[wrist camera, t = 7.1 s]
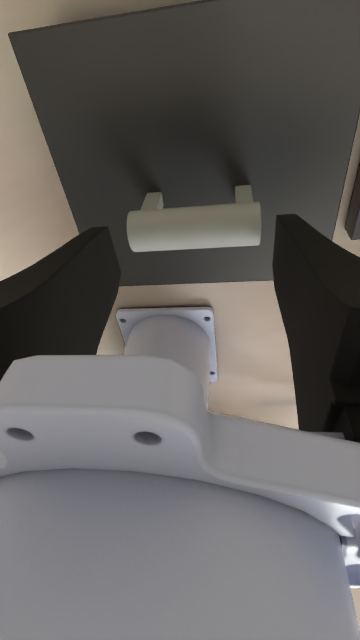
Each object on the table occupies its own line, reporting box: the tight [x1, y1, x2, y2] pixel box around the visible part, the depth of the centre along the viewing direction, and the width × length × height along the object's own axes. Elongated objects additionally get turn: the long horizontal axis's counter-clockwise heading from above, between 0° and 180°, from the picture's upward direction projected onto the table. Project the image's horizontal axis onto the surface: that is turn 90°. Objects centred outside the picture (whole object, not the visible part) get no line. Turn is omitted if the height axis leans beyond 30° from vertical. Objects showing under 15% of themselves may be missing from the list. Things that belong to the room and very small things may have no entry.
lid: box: [8, 0, 360, 286], centre depth 14 cm, size 11×13×4 cm
